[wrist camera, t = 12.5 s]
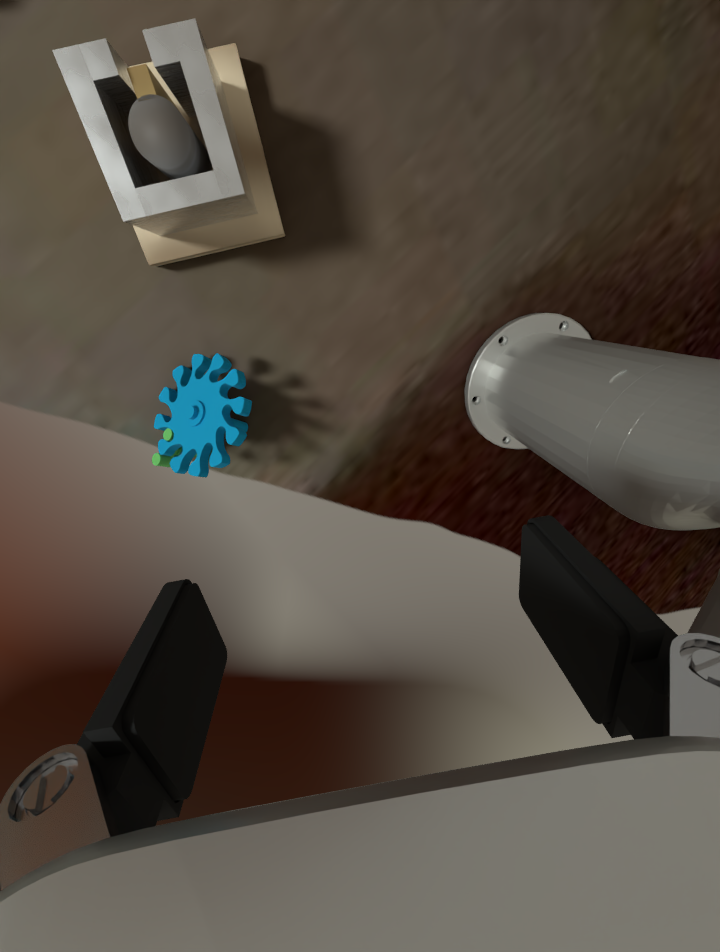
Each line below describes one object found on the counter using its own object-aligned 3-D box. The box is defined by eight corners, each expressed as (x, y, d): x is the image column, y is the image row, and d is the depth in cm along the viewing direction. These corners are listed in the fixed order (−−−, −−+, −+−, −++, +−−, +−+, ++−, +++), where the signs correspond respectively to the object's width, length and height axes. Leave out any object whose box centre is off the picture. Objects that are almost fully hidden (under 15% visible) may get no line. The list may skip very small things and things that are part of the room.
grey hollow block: (257, 213, 27) (244, 193, 21) (160, 236, 27) (123, 221, 21) (221, 81, 24) (195, 18, 18) (111, 106, 23) (52, 50, 18)
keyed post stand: (285, 236, 29) (278, 220, 22) (156, 266, 29) (113, 258, 22) (239, 57, 24) (215, -26, 18) (86, 91, 24) (8, 20, 18)
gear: (208, 322, 29) (257, 423, 26) (260, 352, 34) (306, 439, 31) (127, 410, 33) (161, 508, 30) (185, 424, 38) (219, 509, 35)
